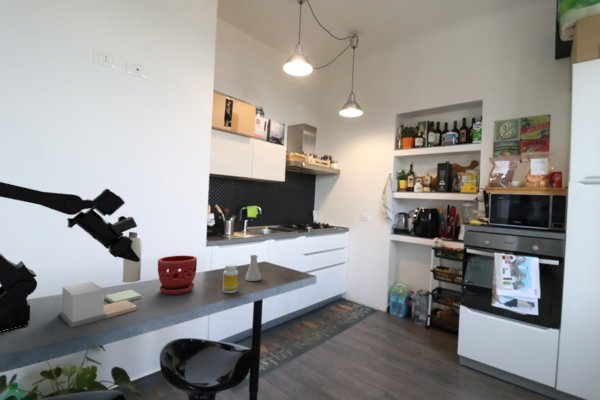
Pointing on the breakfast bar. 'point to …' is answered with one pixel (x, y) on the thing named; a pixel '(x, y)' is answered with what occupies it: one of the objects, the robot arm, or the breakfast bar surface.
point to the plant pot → (177, 274)
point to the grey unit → (82, 304)
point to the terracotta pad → (119, 308)
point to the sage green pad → (123, 296)
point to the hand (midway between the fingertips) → (137, 259)
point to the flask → (253, 270)
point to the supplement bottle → (230, 278)
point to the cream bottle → (131, 267)
